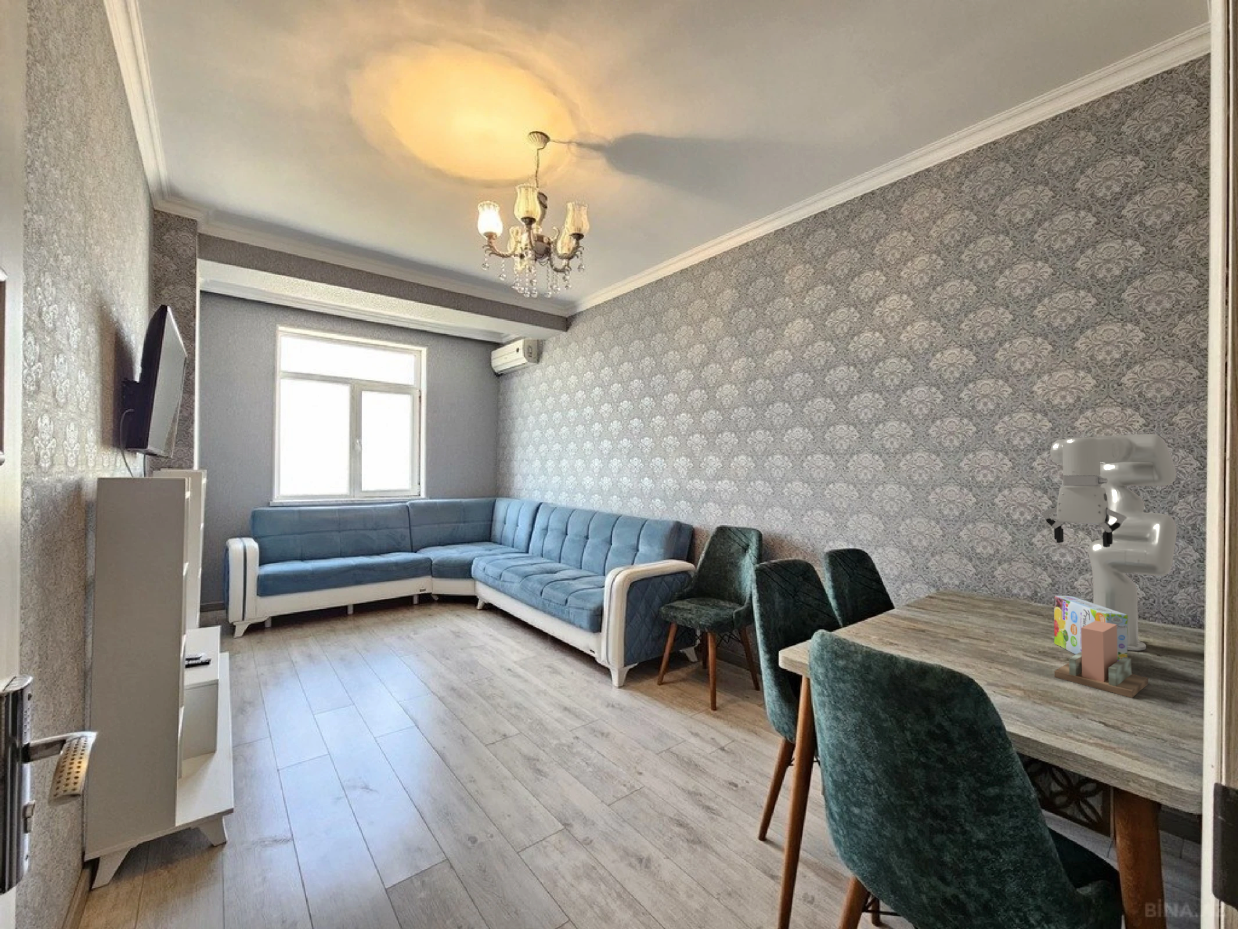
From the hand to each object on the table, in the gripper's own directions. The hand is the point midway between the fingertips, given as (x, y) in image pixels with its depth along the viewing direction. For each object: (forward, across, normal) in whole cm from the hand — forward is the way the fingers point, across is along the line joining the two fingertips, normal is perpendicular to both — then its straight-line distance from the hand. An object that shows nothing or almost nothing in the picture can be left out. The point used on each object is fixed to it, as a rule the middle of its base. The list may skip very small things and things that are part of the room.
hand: (1082, 544), depth 136 cm
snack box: (+33, +1, -7) cm, 33 cm away
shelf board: (+32, -6, +12) cm, 35 cm away
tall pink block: (+31, -6, +12) cm, 34 cm away
